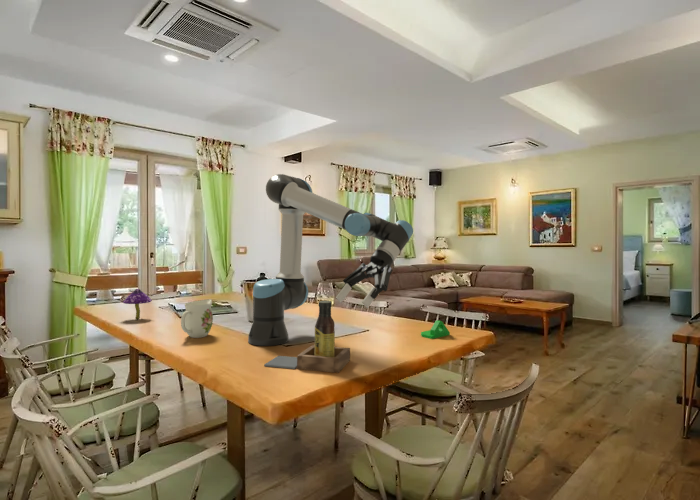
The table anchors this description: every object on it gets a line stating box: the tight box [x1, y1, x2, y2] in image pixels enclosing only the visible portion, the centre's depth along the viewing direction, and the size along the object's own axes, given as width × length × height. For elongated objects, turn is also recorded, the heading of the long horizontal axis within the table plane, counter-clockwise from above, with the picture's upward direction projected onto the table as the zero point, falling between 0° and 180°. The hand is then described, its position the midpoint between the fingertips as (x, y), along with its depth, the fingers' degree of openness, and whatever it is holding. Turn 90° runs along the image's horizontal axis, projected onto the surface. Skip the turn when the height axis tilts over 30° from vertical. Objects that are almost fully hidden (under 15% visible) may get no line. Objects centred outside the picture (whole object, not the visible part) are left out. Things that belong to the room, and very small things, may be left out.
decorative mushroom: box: [122, 288, 152, 320], centre depth 195 cm, size 12×12×15 cm
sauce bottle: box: [314, 300, 336, 357], centre depth 126 cm, size 6×6×20 cm
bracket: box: [420, 319, 451, 340], centre depth 168 cm, size 12×8×7 cm, turn 129°
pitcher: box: [180, 298, 214, 339], centre depth 162 cm, size 11×18×14 cm, turn 164°
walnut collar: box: [296, 344, 351, 374], centre depth 126 cm, size 13×13×4 cm
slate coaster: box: [264, 355, 297, 370], centre depth 127 cm, size 10×10×1 cm
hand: (351, 302), depth 132 cm, fingers open, 13 cm apart
